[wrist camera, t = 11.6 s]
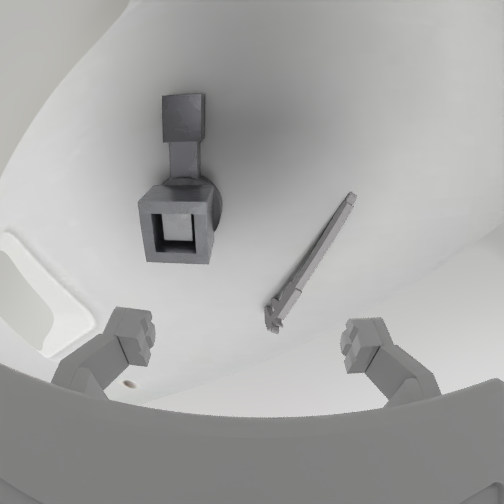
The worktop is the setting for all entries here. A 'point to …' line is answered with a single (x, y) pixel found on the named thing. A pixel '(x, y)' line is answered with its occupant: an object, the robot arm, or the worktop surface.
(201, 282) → the worktop surface
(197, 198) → the grey metal block
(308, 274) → the caliper
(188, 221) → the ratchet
